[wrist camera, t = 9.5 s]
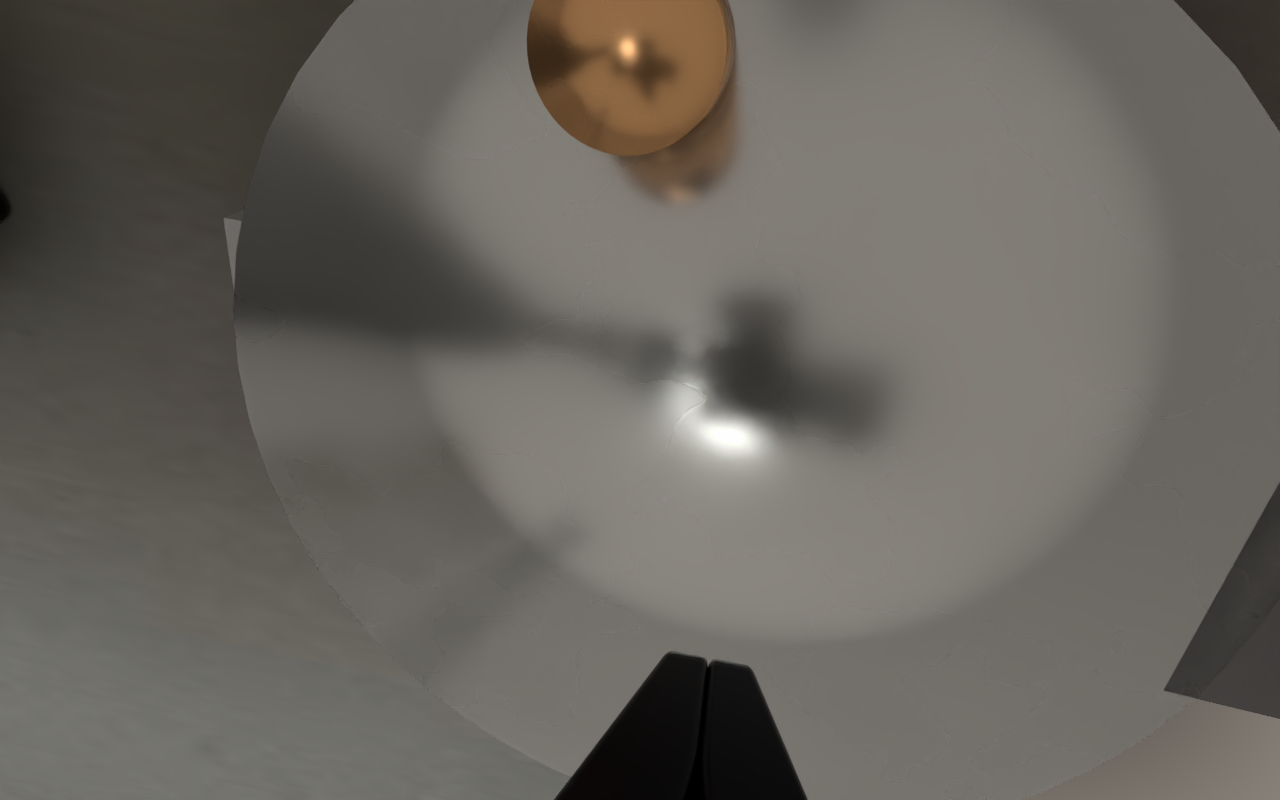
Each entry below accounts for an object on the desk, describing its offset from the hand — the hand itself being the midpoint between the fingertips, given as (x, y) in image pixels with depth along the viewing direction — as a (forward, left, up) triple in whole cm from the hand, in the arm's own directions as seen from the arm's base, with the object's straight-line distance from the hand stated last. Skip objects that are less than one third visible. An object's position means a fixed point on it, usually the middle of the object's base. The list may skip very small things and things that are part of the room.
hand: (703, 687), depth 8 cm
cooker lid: (0, 0, -5) cm, 5 cm away
